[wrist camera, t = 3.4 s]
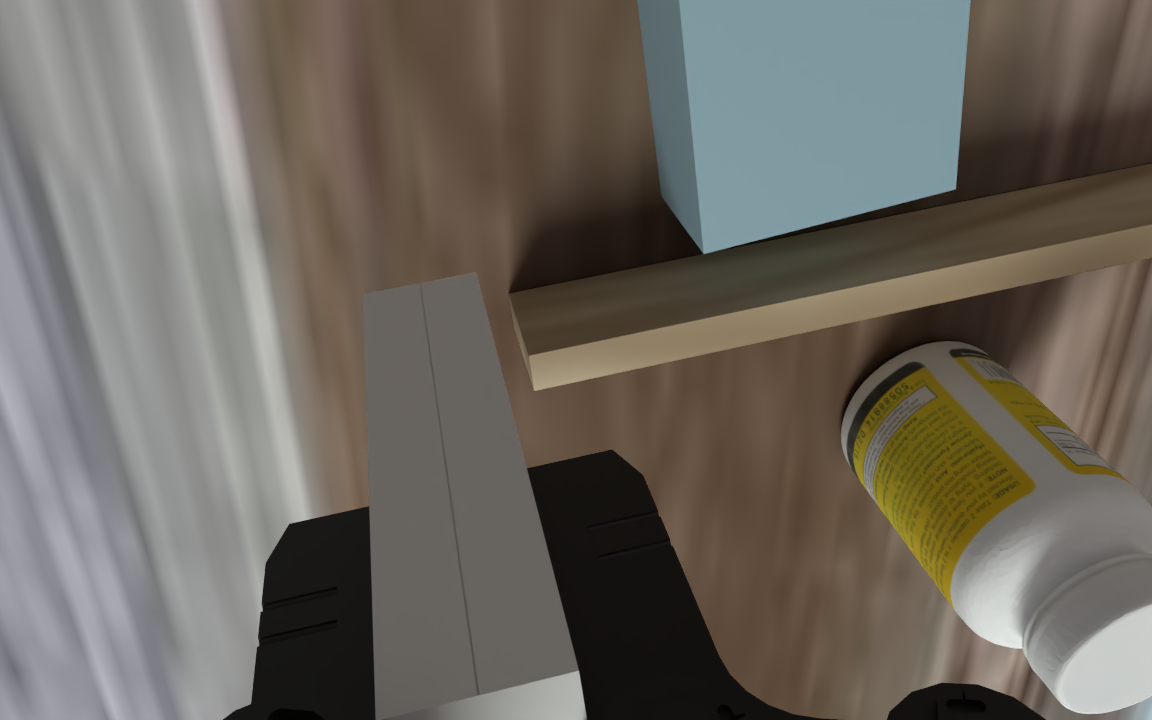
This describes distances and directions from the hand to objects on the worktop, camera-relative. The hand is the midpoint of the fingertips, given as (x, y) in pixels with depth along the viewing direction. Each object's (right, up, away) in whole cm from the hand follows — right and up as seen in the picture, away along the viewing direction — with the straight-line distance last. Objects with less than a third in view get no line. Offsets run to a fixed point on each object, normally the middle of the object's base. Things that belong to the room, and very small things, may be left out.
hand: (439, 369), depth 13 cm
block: (+6, +8, +9) cm, 13 cm away
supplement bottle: (+13, -1, +16) cm, 21 cm away
